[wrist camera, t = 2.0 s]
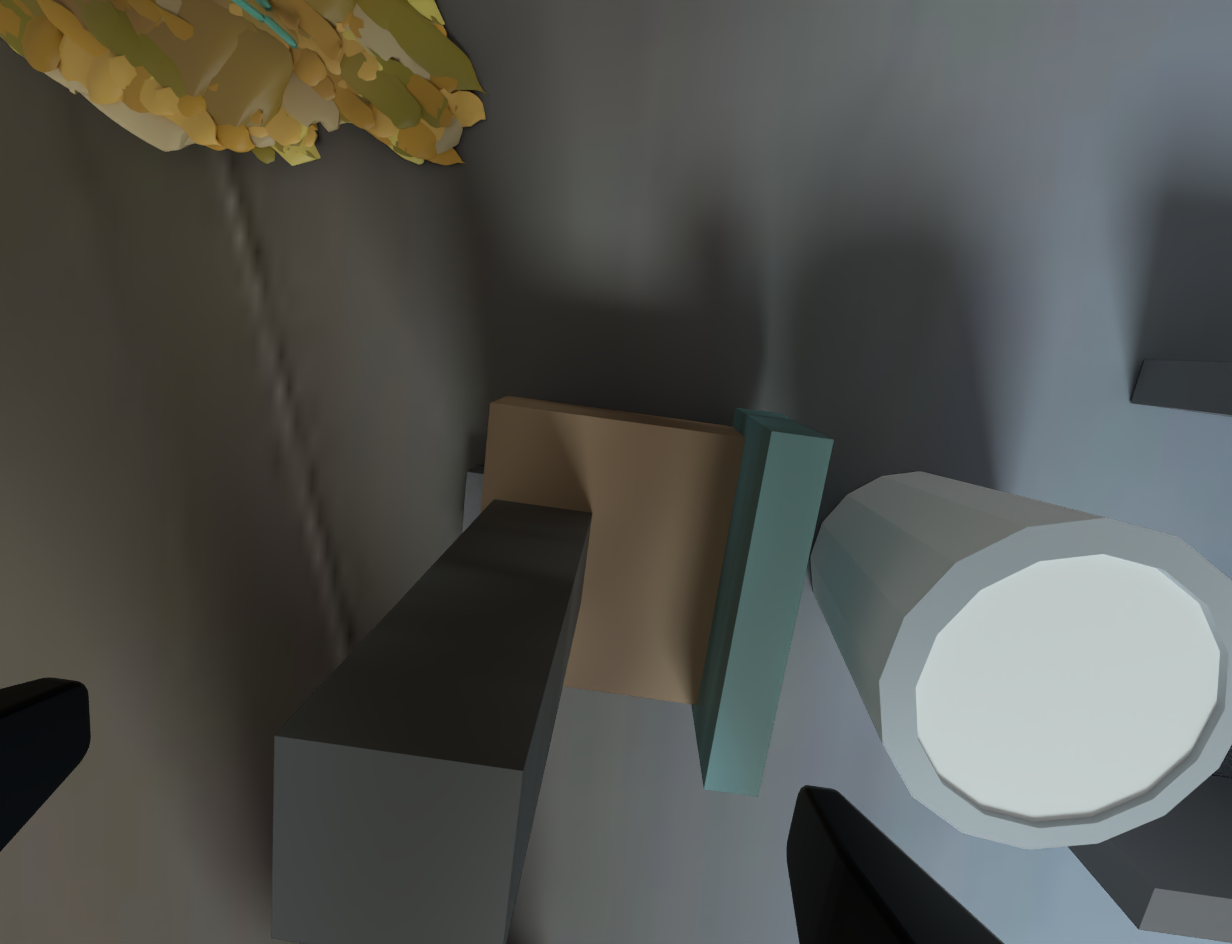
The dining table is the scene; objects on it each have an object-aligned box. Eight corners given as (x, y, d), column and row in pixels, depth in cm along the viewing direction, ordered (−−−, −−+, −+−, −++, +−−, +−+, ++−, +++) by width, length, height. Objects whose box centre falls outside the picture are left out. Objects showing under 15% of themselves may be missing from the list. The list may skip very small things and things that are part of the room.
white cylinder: (803, 442, 17) (911, 507, 11) (1045, 457, 17) (1315, 532, 10) (776, 660, 19) (856, 841, 12) (999, 675, 19) (1210, 868, 12)
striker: (483, 651, 18) (241, 1133, 7) (509, 376, 16) (243, 444, 5) (728, 685, 18) (871, 1226, 7) (781, 413, 16) (1080, 560, 5)
